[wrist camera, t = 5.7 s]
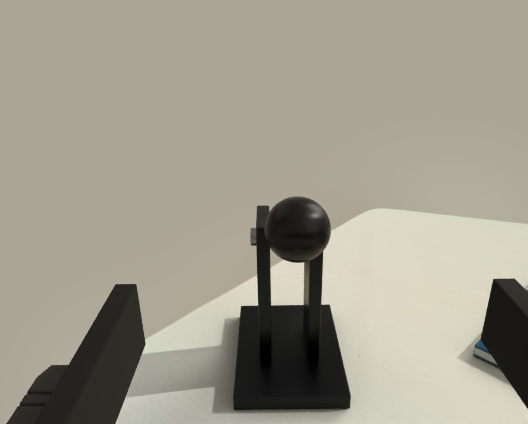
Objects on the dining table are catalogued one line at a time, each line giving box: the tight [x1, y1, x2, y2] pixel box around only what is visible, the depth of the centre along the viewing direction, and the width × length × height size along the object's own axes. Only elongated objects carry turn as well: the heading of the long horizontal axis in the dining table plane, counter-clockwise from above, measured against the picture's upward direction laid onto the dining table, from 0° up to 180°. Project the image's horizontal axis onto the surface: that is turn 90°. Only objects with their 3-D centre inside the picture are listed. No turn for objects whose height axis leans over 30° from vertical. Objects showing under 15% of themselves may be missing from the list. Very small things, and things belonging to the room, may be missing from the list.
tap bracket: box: [233, 206, 351, 410], centre depth 37 cm, size 12×9×14 cm
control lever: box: [265, 197, 331, 263], centre depth 29 cm, size 14×4×4 cm, turn 0°
